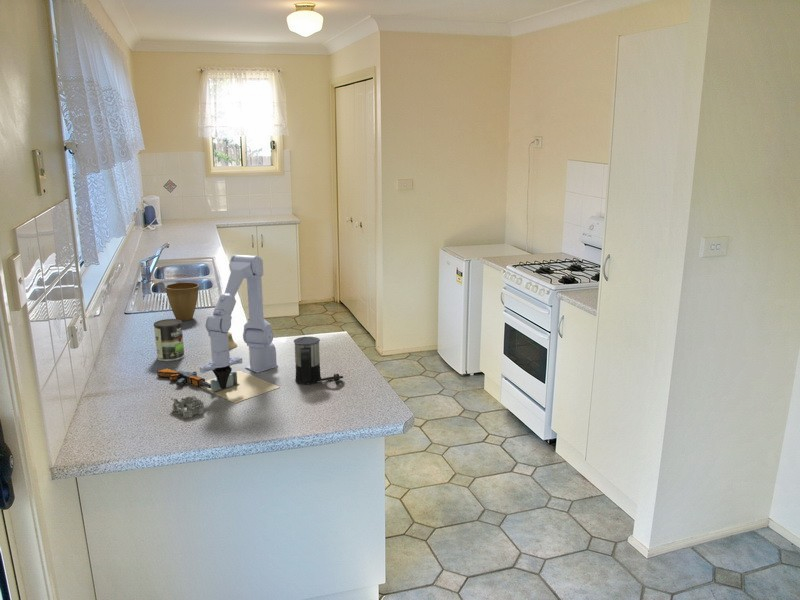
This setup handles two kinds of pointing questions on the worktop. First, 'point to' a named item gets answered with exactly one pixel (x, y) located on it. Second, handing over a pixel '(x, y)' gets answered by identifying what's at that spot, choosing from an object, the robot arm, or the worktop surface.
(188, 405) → the grey rock
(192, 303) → the plant pot
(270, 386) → the card
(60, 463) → the worktop surface
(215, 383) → the fence hinged panel
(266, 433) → the worktop surface
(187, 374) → the toy
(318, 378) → the milk frother
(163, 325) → the coffee can
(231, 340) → the hand bell
